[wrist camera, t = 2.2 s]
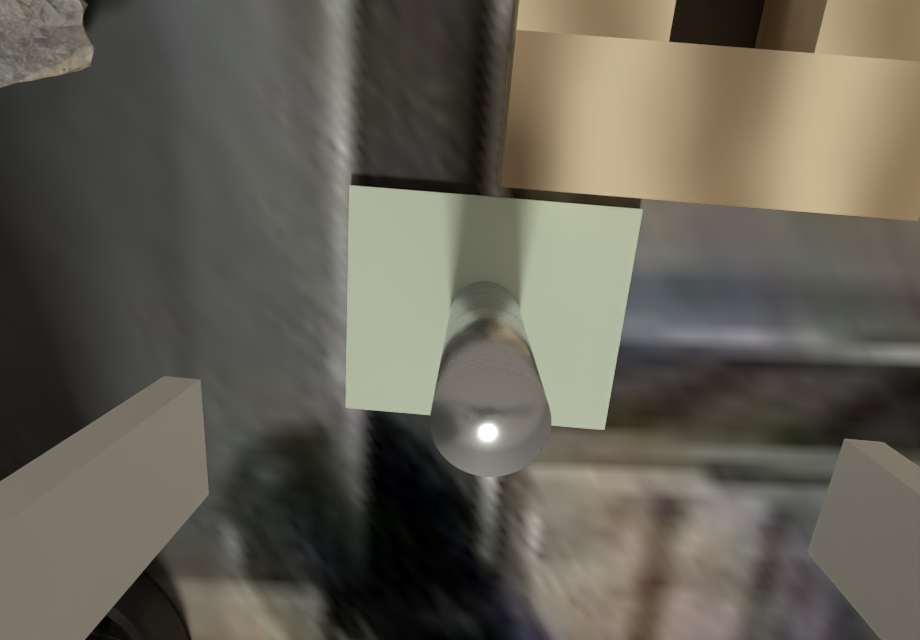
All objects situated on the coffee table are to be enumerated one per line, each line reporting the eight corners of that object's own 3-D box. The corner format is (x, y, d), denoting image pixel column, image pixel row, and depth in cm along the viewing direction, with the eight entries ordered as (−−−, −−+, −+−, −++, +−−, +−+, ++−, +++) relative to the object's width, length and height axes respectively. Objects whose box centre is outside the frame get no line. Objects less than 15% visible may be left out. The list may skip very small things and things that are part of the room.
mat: (347, 404, 24) (345, 407, 24) (351, 184, 21) (349, 185, 21) (602, 425, 24) (604, 429, 24) (639, 208, 21) (643, 209, 21)
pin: (447, 344, 23) (425, 471, 13) (452, 278, 22) (433, 361, 12) (515, 350, 23) (543, 481, 13) (522, 284, 22) (558, 372, 12)
